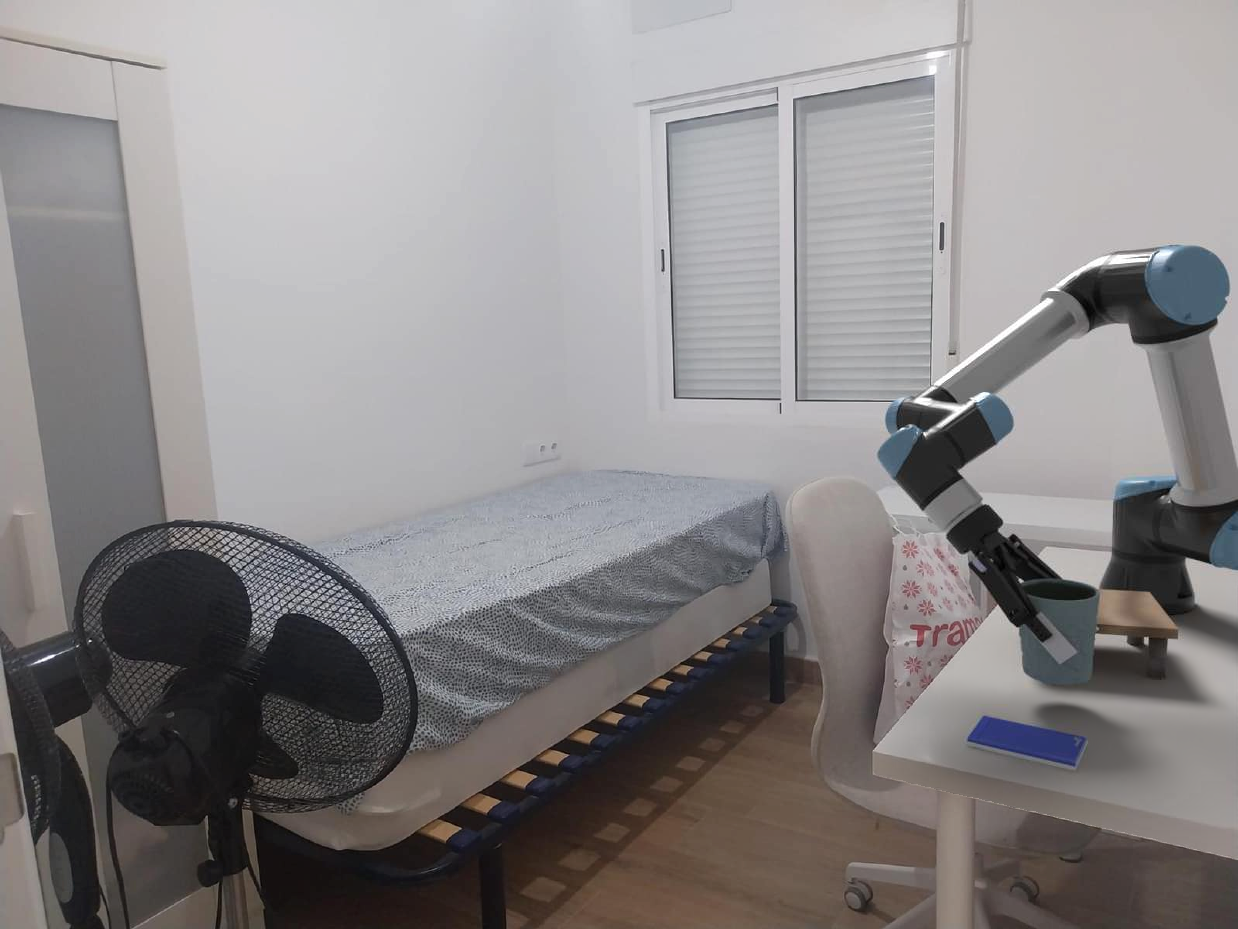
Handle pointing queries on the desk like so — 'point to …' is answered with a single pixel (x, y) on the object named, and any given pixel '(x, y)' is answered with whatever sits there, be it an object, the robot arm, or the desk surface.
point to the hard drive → (1028, 742)
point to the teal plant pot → (1061, 630)
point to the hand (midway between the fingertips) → (1080, 646)
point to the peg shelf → (1137, 624)
